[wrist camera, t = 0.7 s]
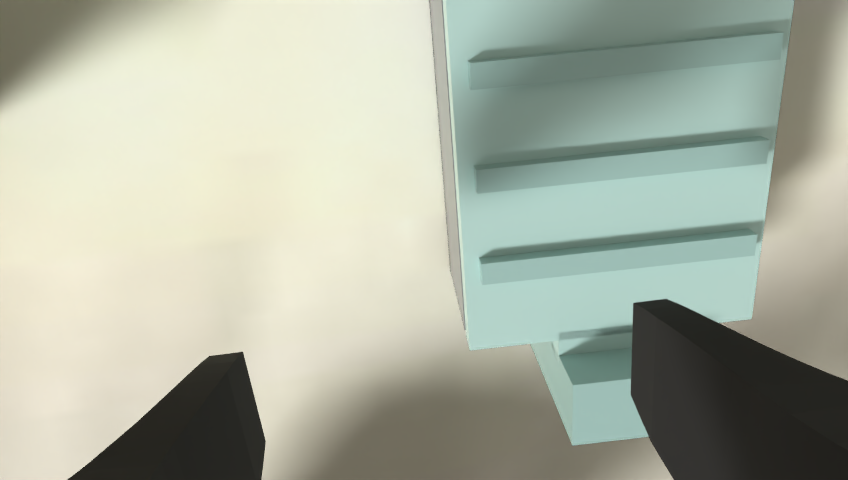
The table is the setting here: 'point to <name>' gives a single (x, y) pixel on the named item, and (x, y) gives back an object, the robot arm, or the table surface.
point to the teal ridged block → (609, 176)
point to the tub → (447, 147)
